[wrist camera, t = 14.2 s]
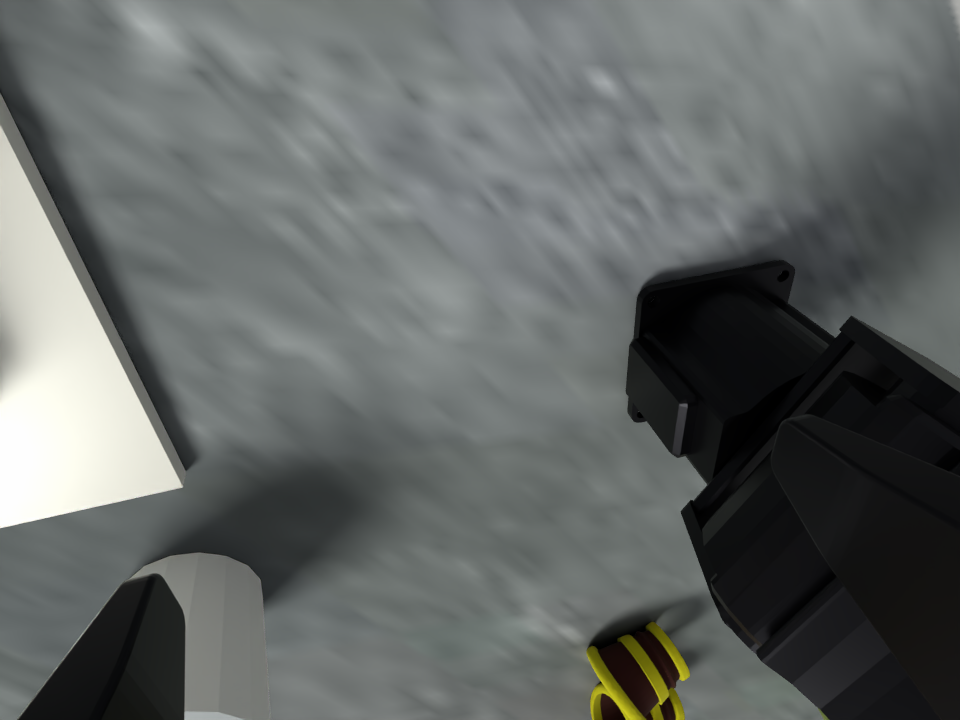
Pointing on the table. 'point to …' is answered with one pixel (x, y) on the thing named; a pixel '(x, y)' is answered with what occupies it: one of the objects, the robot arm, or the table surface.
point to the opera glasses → (638, 678)
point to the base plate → (63, 368)
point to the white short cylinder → (219, 635)
